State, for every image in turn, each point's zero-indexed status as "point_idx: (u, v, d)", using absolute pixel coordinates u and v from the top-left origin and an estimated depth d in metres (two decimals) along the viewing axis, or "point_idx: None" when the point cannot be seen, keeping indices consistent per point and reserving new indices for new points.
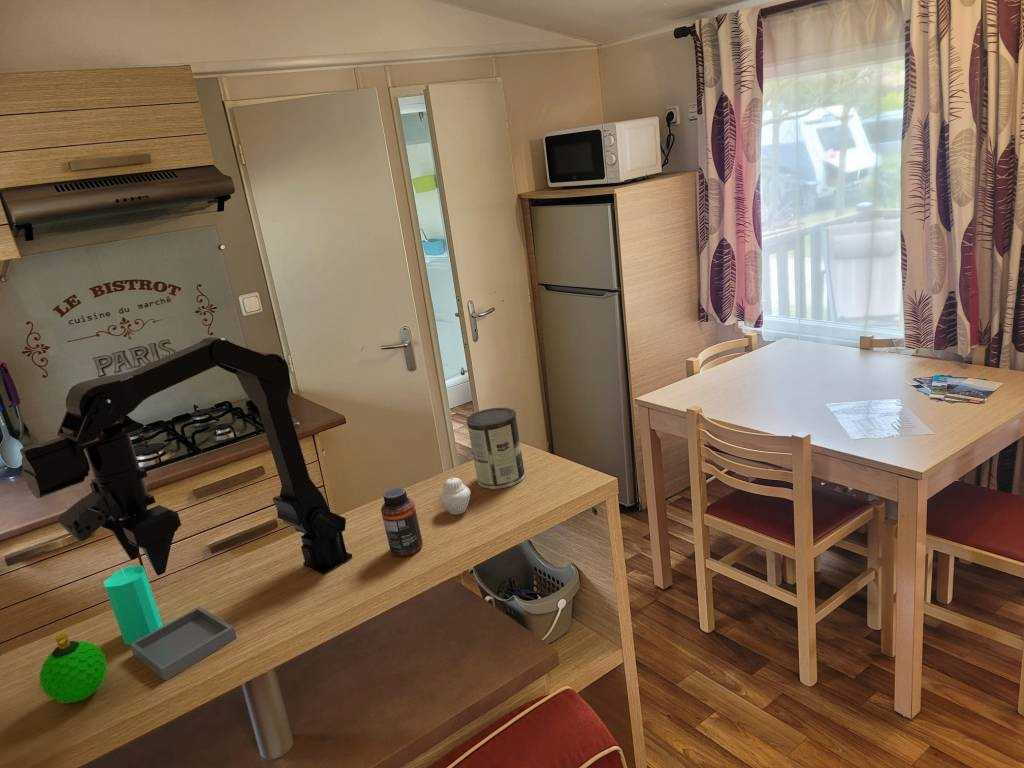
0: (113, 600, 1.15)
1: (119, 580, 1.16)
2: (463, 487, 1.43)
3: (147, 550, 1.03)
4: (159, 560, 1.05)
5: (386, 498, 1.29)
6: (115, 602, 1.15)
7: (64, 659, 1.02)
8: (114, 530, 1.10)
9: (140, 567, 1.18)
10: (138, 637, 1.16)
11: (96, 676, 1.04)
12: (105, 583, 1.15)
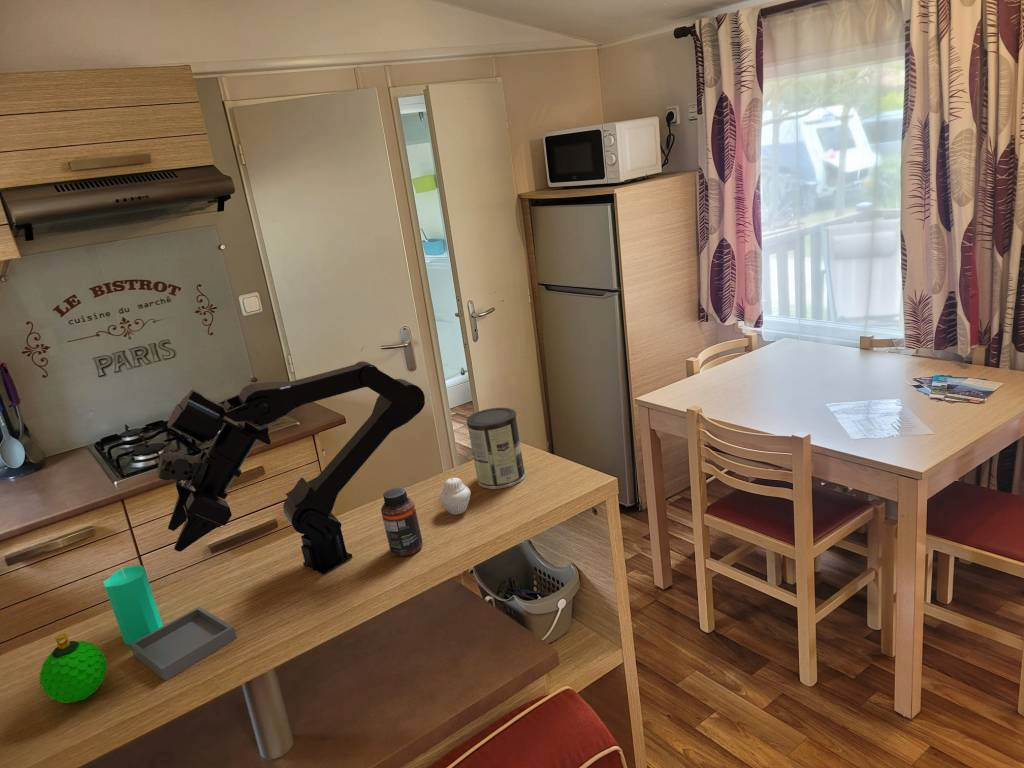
0: (113, 600, 1.15)
1: (119, 580, 1.16)
2: (463, 487, 1.43)
3: (187, 522, 1.14)
4: (186, 538, 1.15)
5: (386, 498, 1.29)
6: (115, 602, 1.15)
7: (64, 659, 1.02)
8: (180, 497, 1.23)
9: (140, 567, 1.18)
10: (138, 637, 1.16)
11: (96, 676, 1.04)
12: (105, 583, 1.15)
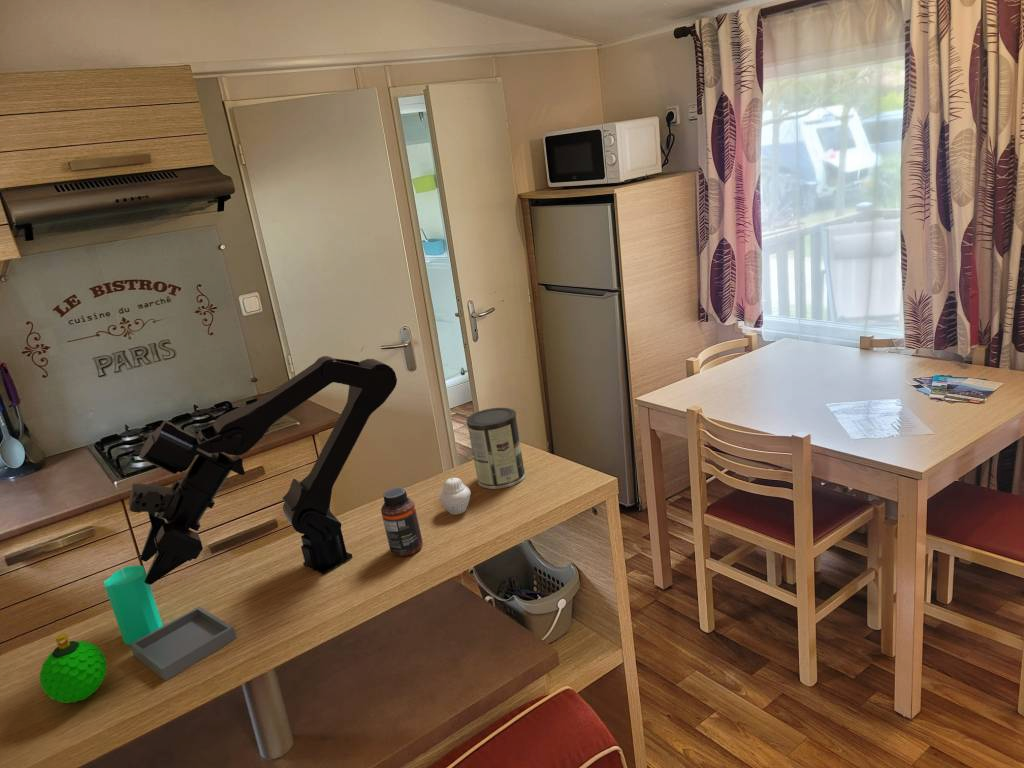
0: (113, 600, 1.15)
1: (119, 580, 1.16)
2: (463, 487, 1.43)
3: (158, 556, 1.12)
4: (156, 571, 1.14)
5: (386, 498, 1.29)
6: (115, 602, 1.15)
7: (64, 659, 1.02)
8: (153, 528, 1.22)
9: (140, 567, 1.18)
10: (138, 637, 1.16)
11: (96, 676, 1.04)
12: (105, 583, 1.15)
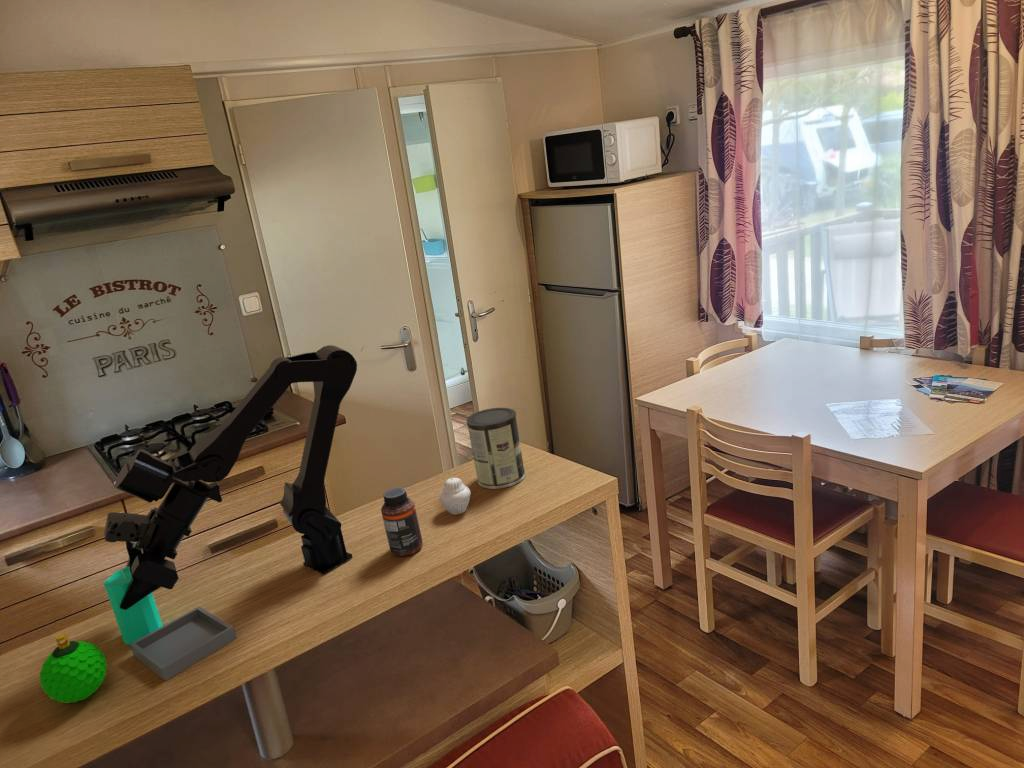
0: (113, 600, 1.15)
1: (119, 580, 1.16)
2: (463, 487, 1.43)
3: (132, 581, 1.13)
4: (131, 597, 1.14)
5: (386, 498, 1.29)
6: (115, 602, 1.15)
7: (64, 659, 1.02)
8: (131, 560, 1.20)
9: None
10: (138, 637, 1.16)
11: (96, 676, 1.04)
12: (105, 583, 1.15)
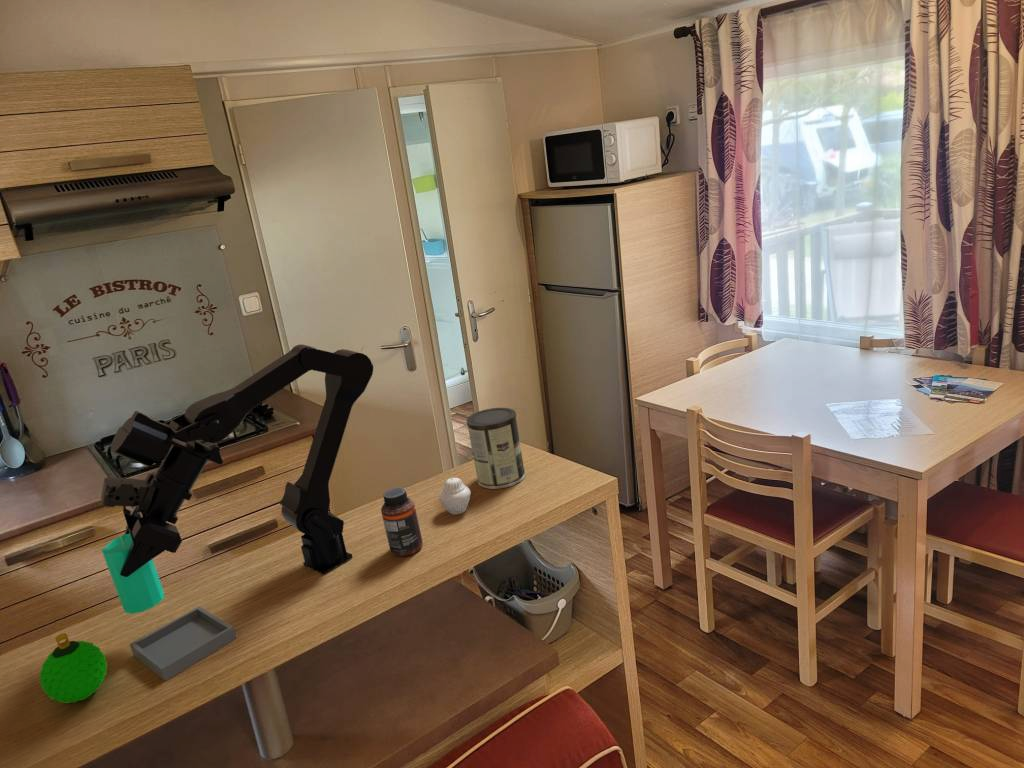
0: (112, 568, 1.11)
1: (118, 547, 1.12)
2: (463, 487, 1.43)
3: (133, 547, 1.09)
4: (132, 563, 1.10)
5: (386, 498, 1.29)
6: (115, 569, 1.11)
7: (64, 659, 1.02)
8: (129, 527, 1.16)
9: None
10: (140, 605, 1.13)
11: (96, 676, 1.04)
12: (103, 550, 1.11)
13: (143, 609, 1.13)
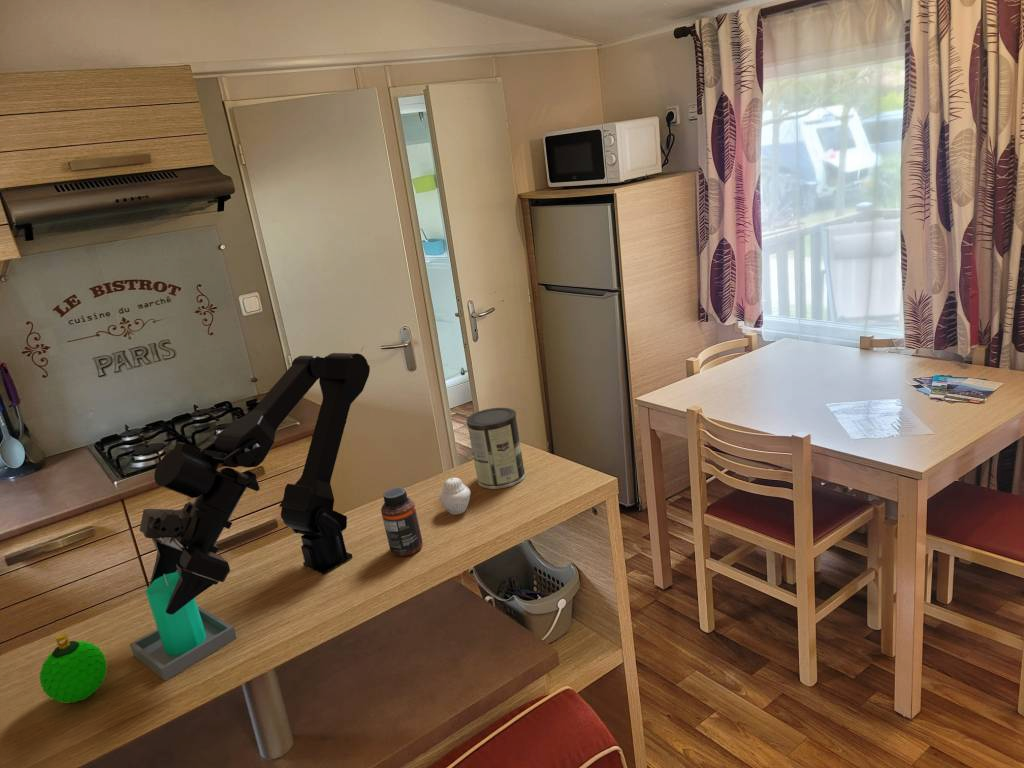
0: (158, 609, 1.09)
1: (162, 588, 1.10)
2: (463, 487, 1.43)
3: (182, 582, 1.06)
4: (179, 600, 1.07)
5: (386, 498, 1.29)
6: (161, 611, 1.09)
7: (64, 659, 1.02)
8: (161, 556, 1.15)
9: None
10: (184, 646, 1.11)
11: (96, 676, 1.04)
12: (148, 592, 1.09)
13: (188, 650, 1.11)
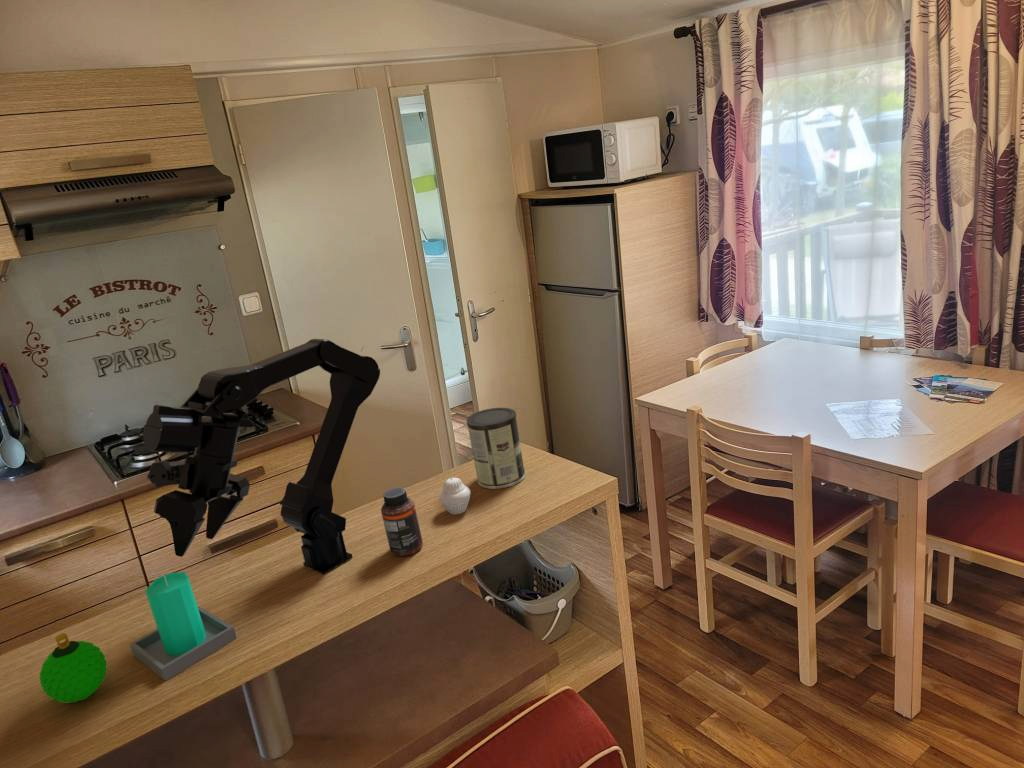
0: (158, 609, 1.09)
1: (162, 588, 1.10)
2: (463, 487, 1.43)
3: (170, 525, 1.11)
4: (179, 542, 1.12)
5: (386, 498, 1.29)
6: (161, 611, 1.09)
7: (64, 659, 1.02)
8: (209, 505, 1.22)
9: (181, 573, 1.13)
10: (184, 646, 1.11)
11: (96, 676, 1.04)
12: (148, 592, 1.09)
13: (188, 650, 1.11)
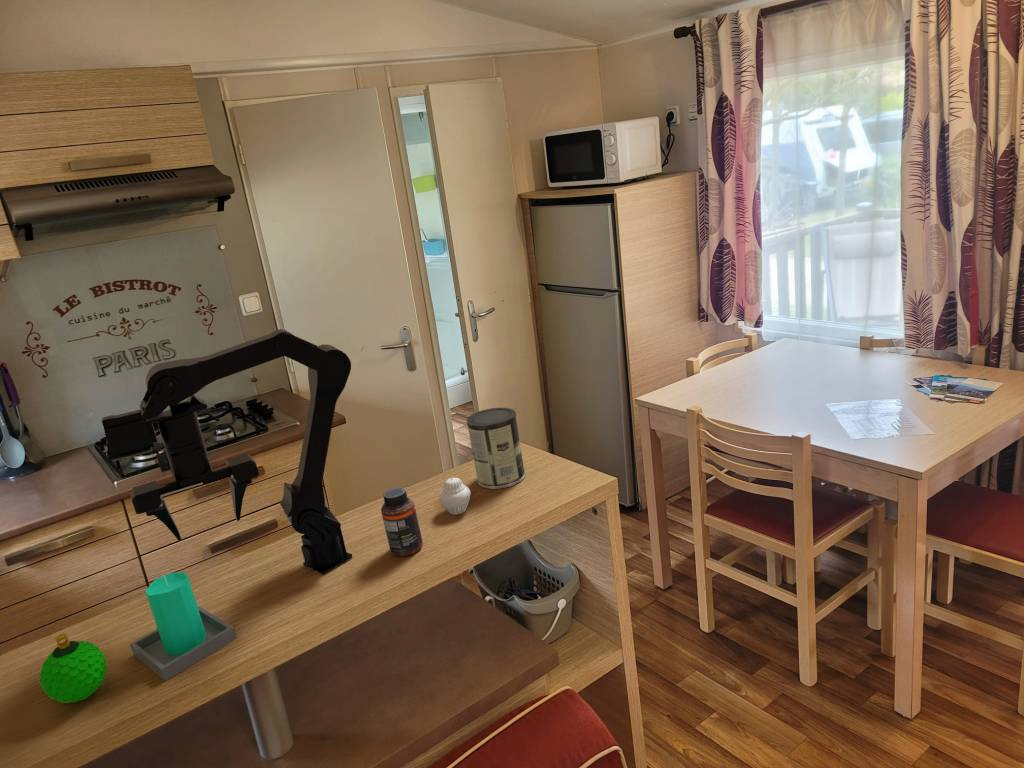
0: (158, 609, 1.09)
1: (162, 588, 1.10)
2: (463, 487, 1.43)
3: None
4: None
5: (386, 498, 1.29)
6: (161, 611, 1.09)
7: (64, 659, 1.02)
8: (231, 488, 1.24)
9: (181, 573, 1.13)
10: (184, 646, 1.11)
11: (96, 676, 1.04)
12: (148, 592, 1.09)
13: (188, 650, 1.11)
